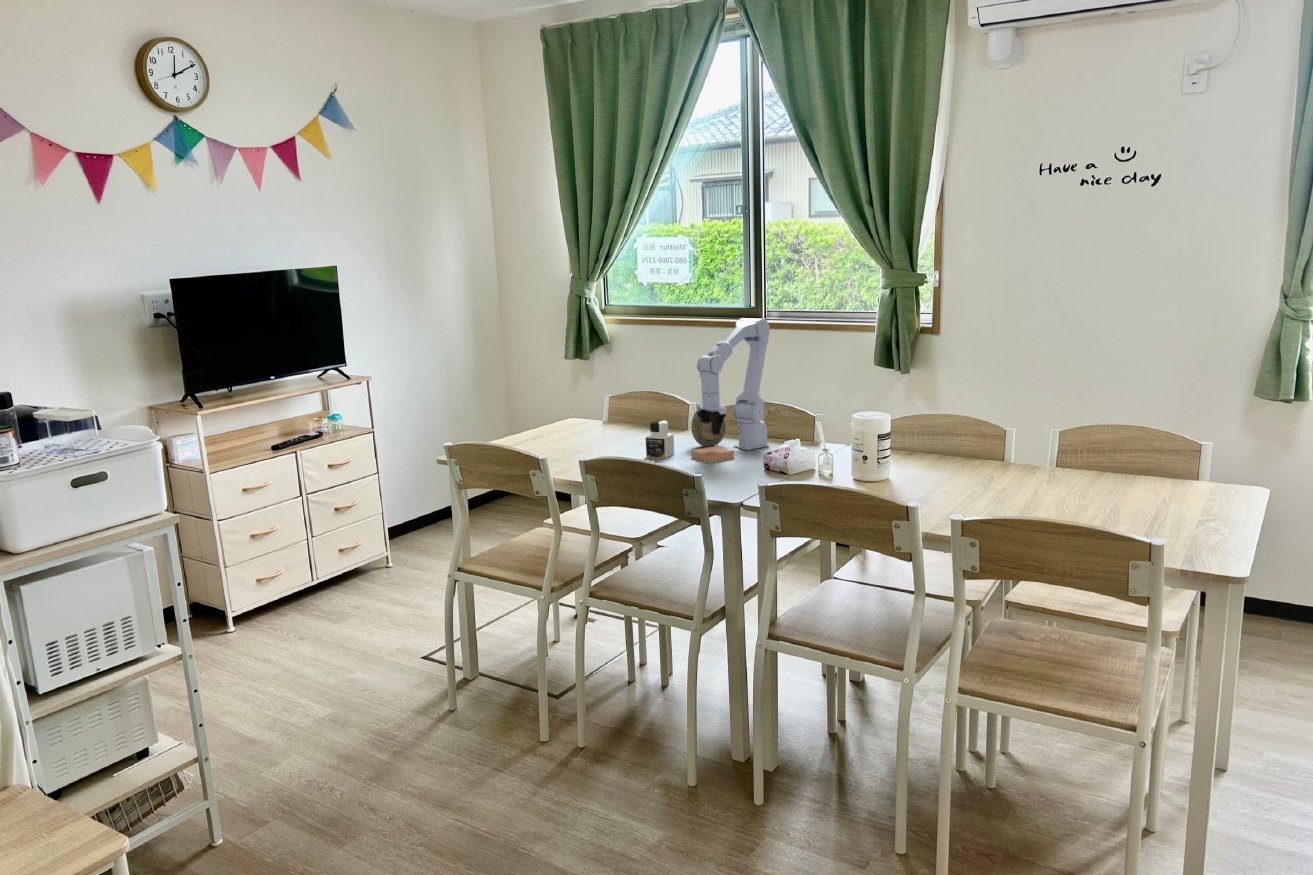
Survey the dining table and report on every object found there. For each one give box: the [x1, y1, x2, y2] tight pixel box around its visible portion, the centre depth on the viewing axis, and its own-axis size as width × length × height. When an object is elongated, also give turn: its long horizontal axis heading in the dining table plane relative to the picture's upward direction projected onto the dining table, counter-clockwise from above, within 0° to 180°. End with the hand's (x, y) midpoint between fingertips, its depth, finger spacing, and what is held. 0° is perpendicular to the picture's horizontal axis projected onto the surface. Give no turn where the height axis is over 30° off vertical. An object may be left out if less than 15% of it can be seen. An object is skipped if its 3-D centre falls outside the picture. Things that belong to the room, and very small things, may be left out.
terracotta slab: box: [691, 445, 735, 464], centre depth 316 cm, size 10×10×3 cm
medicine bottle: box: [645, 419, 675, 460], centre depth 322 cm, size 7×7×12 cm
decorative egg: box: [690, 409, 726, 448], centre depth 332 cm, size 12×12×15 cm
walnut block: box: [702, 421, 722, 440], centre depth 314 cm, size 5×5×5 cm
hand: (711, 433), depth 314 cm, fingers closed on walnut block, 5 cm apart
